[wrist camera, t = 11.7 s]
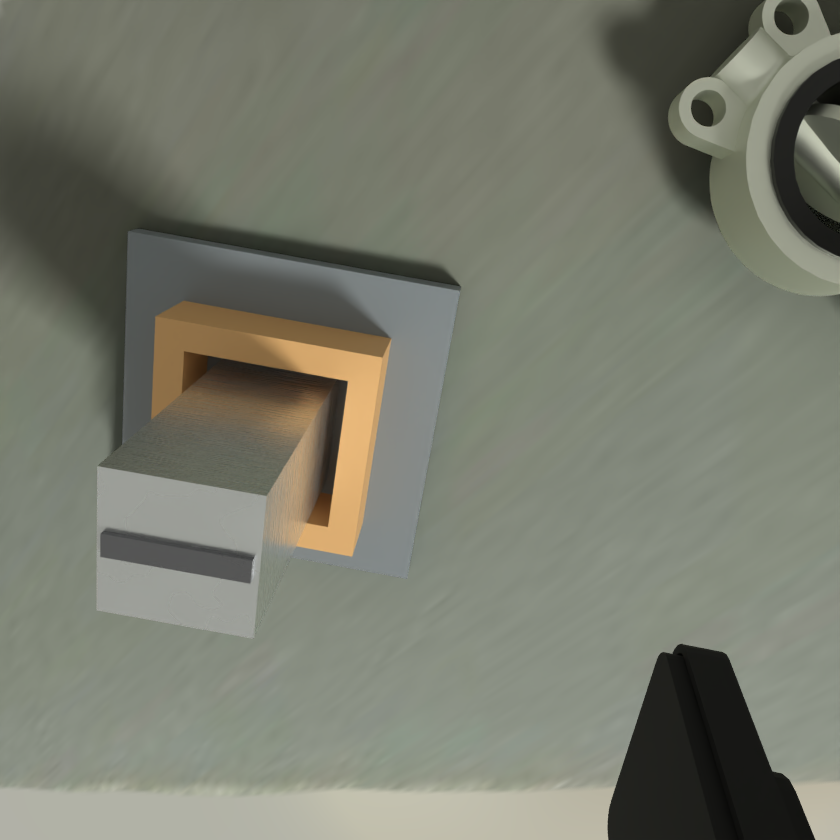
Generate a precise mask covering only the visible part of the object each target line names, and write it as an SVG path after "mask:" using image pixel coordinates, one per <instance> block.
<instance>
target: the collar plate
mask: <svg viewBox="0 0 840 840" xmlns="http://www.w3.org/2000/svg"><path fill="white" fill-rule="evenodd" d="M460 289H461V286H455V285H450V284H444V283H439V282H433V281H428V280H422V279H416V278H411V277H405V276H400V275H394V274H389V273H383V272H378V271H372V270H366V269H361V268H355V267H350V266H344V265H339V264H333V263H327V262H322V261H316V260H311V259H305V258H300V257H294V256H289V255H283V254H277V253H272V252H266V251H261V250H255V249H250V248H244V247H238V246H233V245H227V244H222V243H216V242H211V241H205V240H200V239H194V238H188V237H183V236H177V235H172V234H166V233H161V232H155V231H149V230H144V229H134V230H131V231H128V246H127V283H126V321H125V358H124V396H123V433H122V444H124V443H125V442H126V441H127V440H128V439H129V438H131V437H132V436H133V435H134V434H135V433H136V432H138V431H139V430H140V429H141V428H142V427H143V426H145V425H146V424H147V423H148V422H149V421H150V420H152V419H153V418H154V417H155V416H156V415H157V414H159V413H160V412H161V411H162V410H163V409H164V408H166V407H167V406H168V405H169V404H170V403H171V402H173V401H174V400H175V399H176V398H177V397H178V396H180V395H181V394H182V393H183V392H184V391H185V390H187V389H188V388H189V387H190V386H191V385H192V384H194V383H195V382H196V381H197V380H198V379H199V378H201V377H202V376H203V375H204V374H205V373H206V372H208V371H209V370H210V369H211V368H212V367H213V366H215V365H216V364H217V363H218V362H219V361H220V360H222V359H223V358H224V359H229V360H235V361H240V362H246V363H251V364H257V365H262V366H268V367H273V368H279V369H284V370H290V371H295V372H301V373H306V374H312V375H317V376H323V377H328V378H334V379H339V380H340V381H339V389H338V397H337V405H336V413H335V421H334V429H333V437H332V446H331V454H330V462H329V470H328V478H327V480H326V482H325V484H324V486H323V489H322V491H321V493H320V495H319V497H318V499H317V502H316V504H315V506H314V508H313V510H312V512H311V515H310V517H309V519H308V521H307V523H306V525H305V528H304V530H303V532H302V534H301V536H300V539H299V541H298V543H297V545H296V547H295V549H294V552H293V554H292V556H291V557H292V558H298V559H303V560H309V561H314V562H319V563H325V564H330V565H335V566H341V567H346V568H351V569H357V570H362V571H367V572H373V573H378V574H384V575H389V576H394V577H400V578H405V579H407V577H408V571H409V566H410V560H411V555H412V549H413V544H414V539H415V533H416V528H417V522H418V517H419V511H420V506H421V501H422V495H423V490H424V484H425V479H426V473H427V468H428V463H429V457H430V452H431V446H432V441H433V436H434V430H435V425H436V419H437V414H438V408H439V403H440V398H441V392H442V387H443V381H444V376H445V370H446V365H447V360H448V354H449V349H450V343H451V338H452V333H453V327H454V322H455V316H456V311H457V305H458V300H459V295H460Z"/></svg>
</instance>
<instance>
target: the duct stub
mask: <svg viewBox="0 0 840 840" xmlns="http://www.w3.org/2000/svg"><path fill="white" fill-rule="evenodd" d="M339 381H340V380H339V379H334V378H328V377H323V376H317V375H312V374H306V373H301V372H295V371H290V370H284V369H279V368H273V367H268V366H262V365H257V364H251V363H246V362H240V361H235V360H229V359H224V358H223V359H222V360H220V361H219V362H218V363H217V364H216V365H215V366H213V367H212V368H211V369H210V370H209V371H208V372H206V373H205V374H204V375H203V376H202V377H201V378H199V379H198V380H197V381H196V382H195V383H194V384H192V385H191V386H190V387H189V388H188V389H187V390H185V391H184V392H183V393H182V394H181V395H180V396H178V397H177V398H176V399H175V400H174V401H173V402H171V403H170V404H169V405H168V406H167V407H166V408H164V409H163V410H162V411H161V412H160V413H159V414H157V415H156V416H155V417H154V418H153V419H152V420H150V421H149V422H148V423H147V424H146V425H145V426H143V427H142V428H141V429H140V430H139V431H138V432H136V433H135V434H134V435H133V436H132V437H131V438H129V439H128V440H127V441H126V442H125V443H124V444H122V445H121V446H120V447H119V448H118V449H117V450H115V451H114V452H113V453H112V454H111V455H110V456H108V457H107V458H106V459H105V460H104V461H103V462H101V463H100V464H99V465H98V466H97V610H98V611H104V612H109V613H115V614H120V615H126V616H132V617H137V618H143V619H148V620H154V621H159V622H165V623H170V624H176V625H181V626H187V627H192V628H198V629H203V630H209V631H214V632H220V633H226V634H231V635H237V636H242V637H248V638H253V639H254V636H255V634H256V632H257V630H258V628H259V626H260V623H261V621H262V619H263V617H264V615H265V613H266V610H267V608H268V606H269V604H270V602H271V599H272V597H273V595H274V593H275V591H276V589H277V586H278V584H279V582H280V580H281V578H282V576H283V573H284V571H285V569H286V567H287V565H288V562H289V560H290V558H291V556H292V554H293V552H294V549H295V547H296V545H297V543H298V541H299V539H300V536H301V534H302V532H303V530H304V528H305V525H306V523H307V521H308V519H309V517H310V515H311V512H312V510H313V508H314V506H315V504H316V502H317V499H318V497H319V495H320V493H321V491H322V489H323V486H324V484H325V482H326V480H327V478H328V470H329V462H330V454H331V446H332V437H333V429H334V421H335V413H336V405H337V397H338V389H339Z"/></svg>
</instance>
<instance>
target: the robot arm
mask: <svg viewBox="0 0 840 840" xmlns="http://www.w3.org/2000/svg"><path fill="white" fill-rule="evenodd" d="M608 839H609V840H815V838H814V835H813V833H812V831H811V828H810V826H809V823H808V821H807V818H806V816H805V813H804V811H803V808H802V806H801V804H800V801H799V799H798V796H797V794H796V791H795V790H794V788H793V786H792V784H791V782H790V780H789V779H788V778H787V777H785V776H784V775H783V774H781V773H777V772H772V770H771V767H770V765H769V762H768V759H767V757H766V754H765V752H764V749H763V746H762V744H761V741H760V739H759V736H758V733H757V731H756V728H755V725H754V723H753V720H752V718H751V715H750V712H749V710H748V707H747V705H746V702H745V699H744V697H743V694H742V692H741V689H740V686H739V684H738V681H737V678H736V676H735V673H734V671H733V668H732V665H731V663H730V660H729V658H728V657H727V655H726V654H725V653H723V652H719V651H714V650H709V649H704V648H699V647H694V646H689V645H683V644H680V645H677V647H676V648H675V649H674V652H673V654H670V653H665V652H662V653H661V654H660V655H659V656H658V659H657V661H656V664H655V667H654V670H653V673H652V676H651V680H650V683H649V686H648V689H647V692H646V695H645V698H644V701H643V704H642V707H641V710H640V714H639V717H638V720H637V723H636V726H635V729H634V732H633V735H632V738H631V741H630V744H629V747H628V751H627V754H626V757H625V760H624V763H623V766H622V769H621V772H620V775H619V778H618V781H617V785H616V788H615V791H614V794H613V797H612V800H611V804H610V808H609V814H608Z"/></svg>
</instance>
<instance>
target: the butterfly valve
mask: <svg viewBox="0 0 840 840" xmlns="http://www.w3.org/2000/svg"><path fill="white" fill-rule="evenodd" d="M775 11H780V12H783V13H785V14H786V15H788V16H789V18H790V19H791V21H792V23H793V35H787V34H784V33H783V32H781V31H780V30H779V29H778V28H777V26H776V24H775V21H774V12H775ZM748 32H749V37H748V38H747V39H746V40H745V41H744V42H743V43H742V44H741V45H740V46H739V47H738V48H737V49H736V50H735V51H734V52H733V53H732V54H731V55H730V56H729V57H728V58H727V59H726V60H725V61H724V62H723V63H722V64H721V66H720V67H719V68H718V69H717V70H716V71H715V72H714V73H713V74H712V76H711V77H705V78H700V79H697V80H695V81H694V82H692V83H691V84H689V85H688V86H687V87H686V88H685V89H684V90H683V91H682V92H681V93H680V94H678V95H677V96H676V97H675V99H674V100H673V101H672V103H671V105H670V108H669V112H668V123H669V127H670V130H671V132H672V134H673V135H674V136H675V138H676V139H677V140H678V141H680V142H681V143H682V144H684V145H686V146H689V147H691V148H694V149H696V150H699V151H701V152H704V153H706V154H709V155H711V156H712V160H711V164H710V176H709V181H710V197H711V203H712V208H713V212H714V215H715V218H716V220H717V223H718V226H719V229H720V232H721V234H722V235H723V237H724V239H725V240H726V242H727V244H728V246H729V247H730V249H731V251H732V252H733V253H734V254H735V255H736V256H737V258H738V259H739V260H740V261H741V262H742V263H743V265H744V266H745V267H747V268H748V269H749V270H750V271H752V272H753V273H754V274H755V275H756V276H758V277H759V278H760V279H762V280H764V281H766V282H768V283H770V284H771V285H773V286H775V287H777V288H780V289H783V290H786V291H789V292H793V293H796V294H800V295H807V296H831V295H837V294H840V234H839V233H837V232H835V231H833V230H831V229H830V228H828V227H827V226H826V225H825V224H823V223H822V222H821V221H820V220H819V219H818V218H817V217H816V216H815V215H814V214H813V212H812V211H811V210H810V209H809V207H808V206H807V204H809V205H810V206H811V207H812V208H814V209H815V210H817V211H818V212H820V213H822V214H823V215H825V216H827V217H829V218H831V219H832V220H834V221H837V222H839V223H840V33H838V34H835V35H831V34H830V32H829V29H828V27H827V24H826V22H825V19H824V17H823V14H822V12H821V9H820V7H819V4H818V2H817V0H764V1H763V2H762V3H761V4H760V5H759V6H758V7H757V8H756V9H755V10H754V12H753V13H752V15H751V17H750V21H749V25H748ZM692 100H701V101H704V102H706V103H707V104H708V105H709V106H710V107H711V109H712V112H713V116H714V118H713V124H712V126H711V127H706V126H702V125H700V124H699V123H697V122H696V121H695V120H694V118H693V116H692V113H691V103H692ZM806 203H807V204H806Z"/></svg>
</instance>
